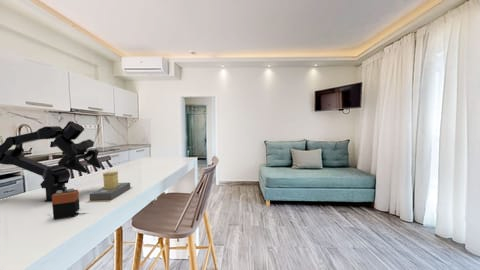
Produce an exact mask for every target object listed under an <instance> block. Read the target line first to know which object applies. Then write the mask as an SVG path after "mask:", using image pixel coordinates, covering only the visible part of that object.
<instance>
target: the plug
mask: <svg viewBox="0 0 480 270" xmlns="http://www.w3.org/2000/svg"><path fill="white" fill-rule="evenodd" d="M118 175H119V172H118V171H117V170H116V171H105V172H104V173H103V174H102V176H103V187H104V189H115V188H117V187H118V183H119V176H118Z"/></svg>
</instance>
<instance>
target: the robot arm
mask: <svg viewBox="0 0 480 270" xmlns="http://www.w3.org/2000/svg"><path fill="white" fill-rule="evenodd" d="M84 131H85V128H84V127H83V125H81V124H78V123H76V122H74V121H68V122H67V124H66V125H65V126H64V127H63V128H62V127H61V126H59V125H53V126H51V125H50V126H49V125H48V126H43V127H40V128H38V129H37V130H36V131H33V132H27V133H23V134H19V135H14V136H8V137H6V138H5V140H4V141H3V143H1V144H0V165H5V166H7V165H8V166H9V165H11V166H15V167H18V168H20V169H23V170H25V171H28V172H31V173H33V174H35V175H39V176H40V177H42V179H43V180H42V181H41V182H40V184H39V185H40V188H41V189H45V200H44V202H45V203H47V202H52V195H53V194H55V193H56V192H57V191H59V190H62V191H67V189H68V188H67V186H66V184H69V180H70V178H71V173H70V170H73V171H77V172H81V173H85V174H87V173H88V171H89V170H88V169H87V168H86V167H85V166H84V165H83V164H82V162H81V161H80V160H84V161H85V162H86V163H87V164H89V165H90V166H93V167H95V168H97V169H101V168H102V165H101V163H100V161H99V159H98V156H99V153H100V151H99V150H98V149H89V148H93V147H94V146H95V141H93V139H90V138H89V139H86V140H82V141H80V142H78V143H75V142H74V140H77V139H78V138H79V137H80V135H81V134H82V133H84ZM53 139H54V140H53ZM40 140H51V141H50V144H49V147H50V148H56V147H57V148H58V149H59V150H60V151H61V155H62V157H61V158H60V159H59V160H58V161H57V165H52V166H49V165H47V164H43V163H41V162H38V161H36V160H35V159H34V160H33V159H31V158H28V157H27V156H24V154H23V151H24V148H23V145H24V144H27V143H31V142H35V141H40ZM13 146H15V147H14V148H12V147H13ZM88 149H89V150H88Z"/></svg>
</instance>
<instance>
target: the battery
mask: <svg viewBox="0 0 480 270" xmlns="http://www.w3.org/2000/svg"><path fill="white" fill-rule="evenodd" d="M79 196H80V195H79V190H78V189H75V188H67V191H62V190H59V191H57V192H56V193H55V194H53V195H52V201H51V204H52V216H53V220H59V219H60V220H62V219H67V218H74V217H77V215H78V214H79V212H78V211H79V210H80V209H81V208H80V197H79Z"/></svg>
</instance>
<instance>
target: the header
mask: <svg viewBox="0 0 480 270" xmlns="http://www.w3.org/2000/svg"><path fill="white" fill-rule="evenodd" d="M133 188H134V187H133V186H131V182H118V187H117V188H115V189H104V186H103V187H100V188H99V189H97V190H95V191H92V192H90V193H89V200H87V201H85V204H87V203H89V204H90V203H110V202H112V201H113V200H114V199H116V198H118V197H120V196H122V195H123V194H124V193H127V192H128V191H130V190H131V189H133Z"/></svg>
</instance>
